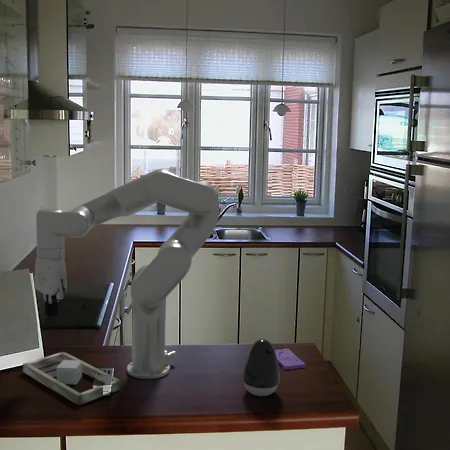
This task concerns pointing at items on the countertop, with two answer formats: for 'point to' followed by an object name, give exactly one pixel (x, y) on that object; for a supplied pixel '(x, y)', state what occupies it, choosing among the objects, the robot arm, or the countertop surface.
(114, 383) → the rectangular open frame tray
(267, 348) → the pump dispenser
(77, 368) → the small box
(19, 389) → the countertop surface
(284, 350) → the sponges
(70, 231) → the robot arm
